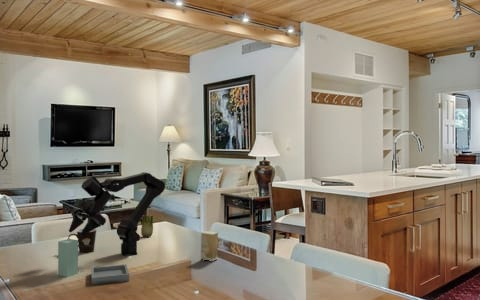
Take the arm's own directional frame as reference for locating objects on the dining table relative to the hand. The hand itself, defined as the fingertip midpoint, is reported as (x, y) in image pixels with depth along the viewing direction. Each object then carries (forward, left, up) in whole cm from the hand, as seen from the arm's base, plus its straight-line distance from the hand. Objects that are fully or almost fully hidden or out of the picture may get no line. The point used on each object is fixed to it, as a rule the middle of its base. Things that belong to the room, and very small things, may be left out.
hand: (75, 233), depth 165 cm
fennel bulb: (-35, -46, -14) cm, 59 cm away
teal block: (+2, +9, -14) cm, 17 cm away
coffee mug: (-3, -25, -14) cm, 28 cm away
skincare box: (-55, +8, -14) cm, 57 cm away
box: (-13, +18, -14) cm, 26 cm away
